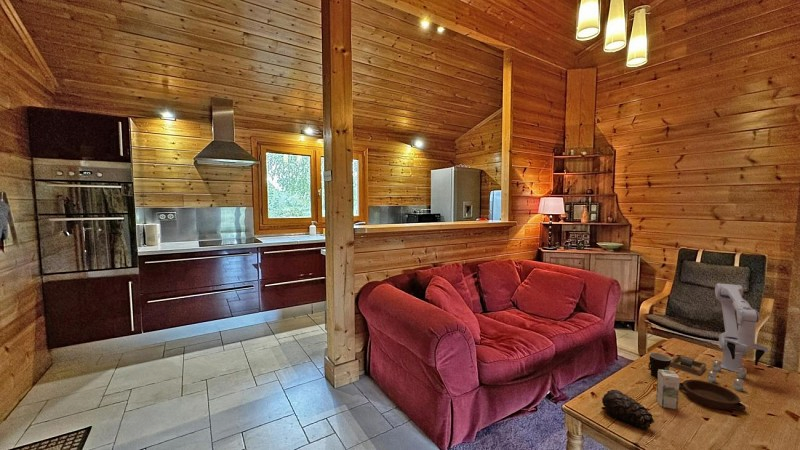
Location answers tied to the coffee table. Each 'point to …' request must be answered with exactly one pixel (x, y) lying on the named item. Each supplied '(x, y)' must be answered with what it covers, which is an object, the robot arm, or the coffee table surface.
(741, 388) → the cylinder
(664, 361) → the coffee mug
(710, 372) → the cylinder
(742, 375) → the cylinder
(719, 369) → the cylinder
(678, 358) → the square frame
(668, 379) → the syrup box
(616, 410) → the pine cone
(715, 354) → the coffee table surface
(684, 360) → the grey cube
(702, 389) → the dish
